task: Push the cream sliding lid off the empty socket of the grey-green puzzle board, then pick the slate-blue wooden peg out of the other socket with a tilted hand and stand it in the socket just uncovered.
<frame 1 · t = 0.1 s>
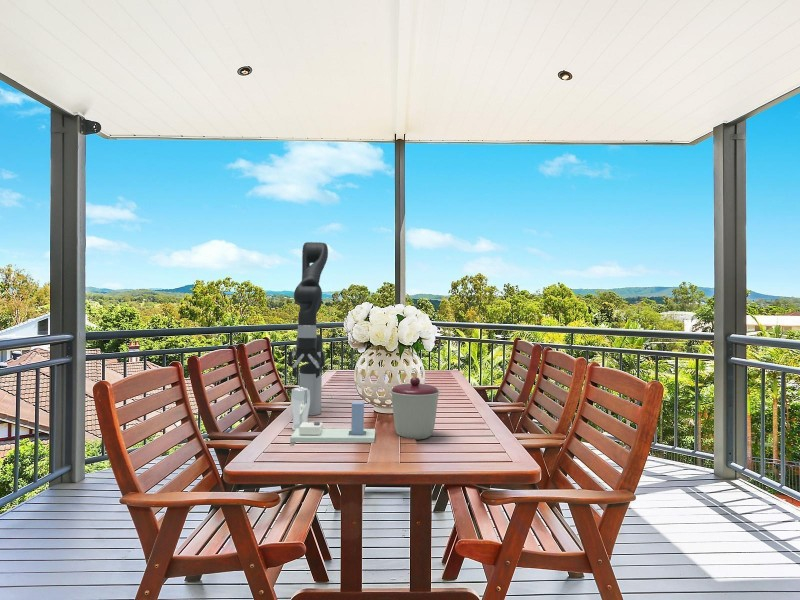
hand: (306, 377, 209), 17 cm above the table, tool pointing down, fingers open, 8 cm apart
canister: (414, 436, 189), on the table
peg: (357, 437, 182), point 1 cm above the table, touching board
beer glass: (300, 429, 196), on the table
board: (334, 440, 182), on the table
lid: (311, 427, 182), point 4 cm above the table, slide at 0.0 cm
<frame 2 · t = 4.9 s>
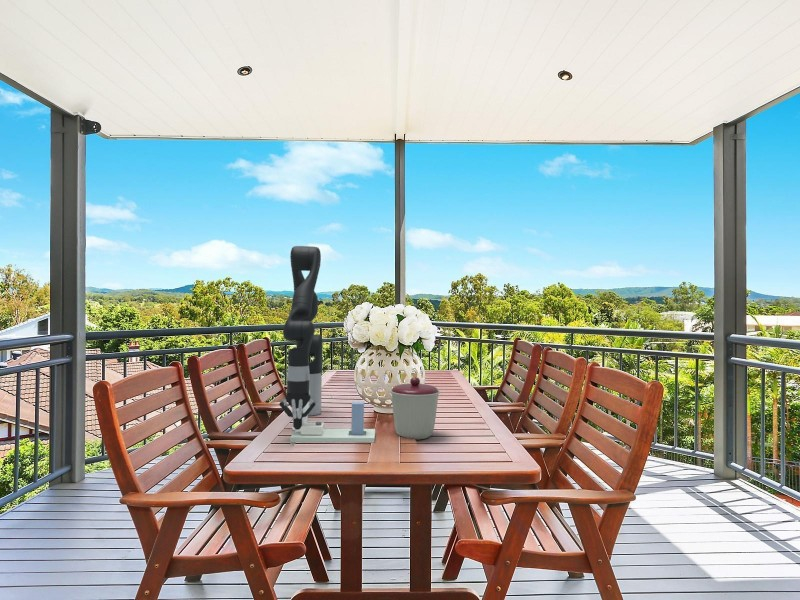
hand: (297, 428, 181), 4 cm above the table, tool pointing down, fingers closed
lid: (312, 427, 182), point 4 cm above the table, slide at 0.6 cm, touching gripper
everything else where it was.
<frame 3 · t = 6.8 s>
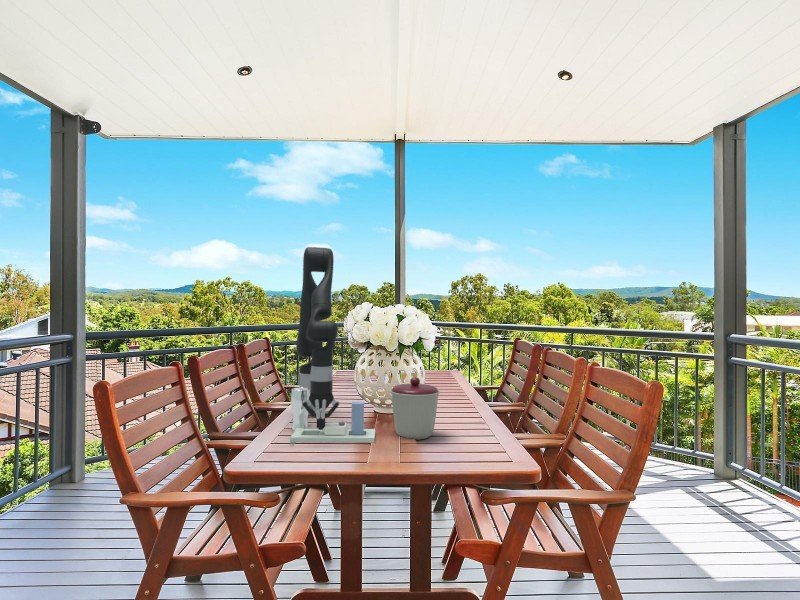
hand: (320, 429, 182), 4 cm above the table, tool pointing down, fingers closed
lid: (335, 427, 182), point 4 cm above the table, slide at 8.5 cm, touching gripper
everything else where it was.
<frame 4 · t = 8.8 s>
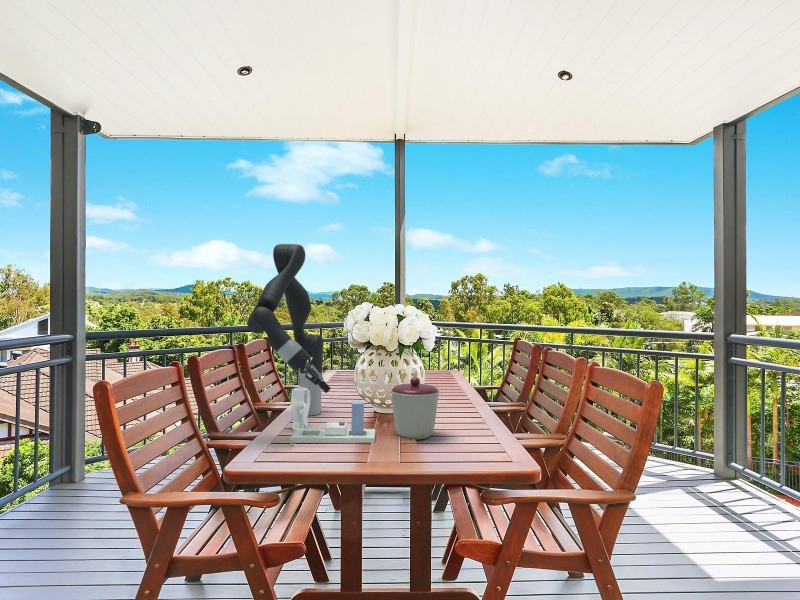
hand: (328, 390, 182), 17 cm above the table, tool tilted 45°, fingers closed
lid: (335, 427, 182), point 4 cm above the table, slide at 8.6 cm
everything else where it was.
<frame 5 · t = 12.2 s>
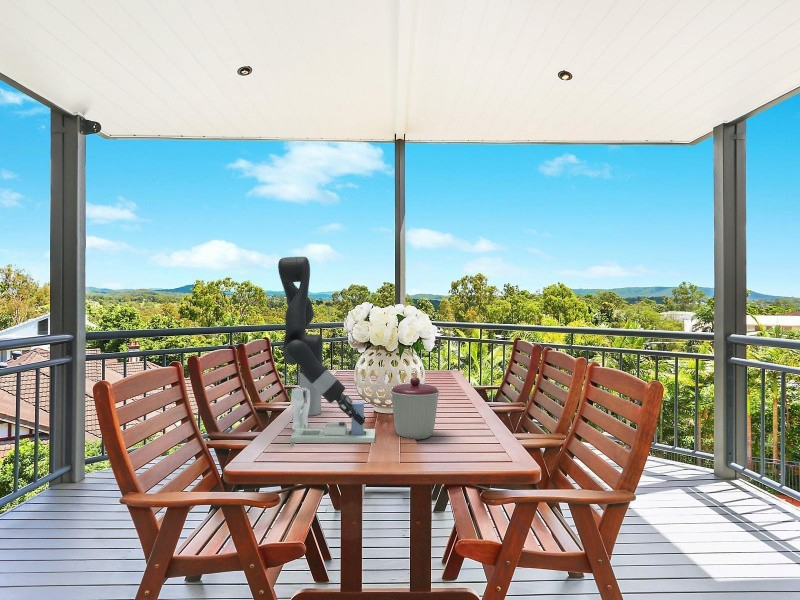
hand: (363, 421, 182), 7 cm above the table, tool tilted 45°, fingers closed on peg, 4 cm apart
peg: (357, 437, 182), point 1 cm above the table, touching board, gripper
everything else where it was.
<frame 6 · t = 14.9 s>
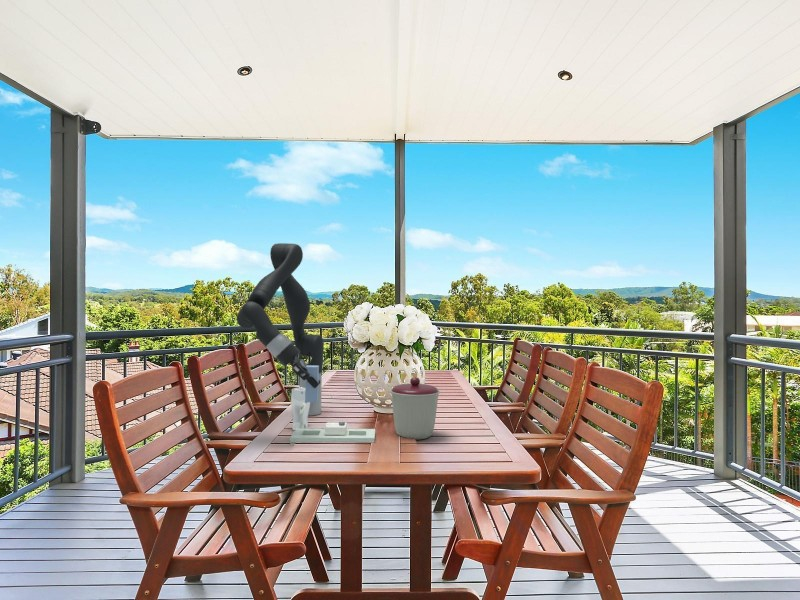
hand: (317, 385, 182), 19 cm above the table, tool tilted 45°, fingers closed on peg, 4 cm apart
peg: (311, 401, 182), point 13 cm above the table, touching gripper
everything else where it was.
when the fingers open (8 cm above the table, at t = 17.4 s): peg drops 1 cm, resting on board.
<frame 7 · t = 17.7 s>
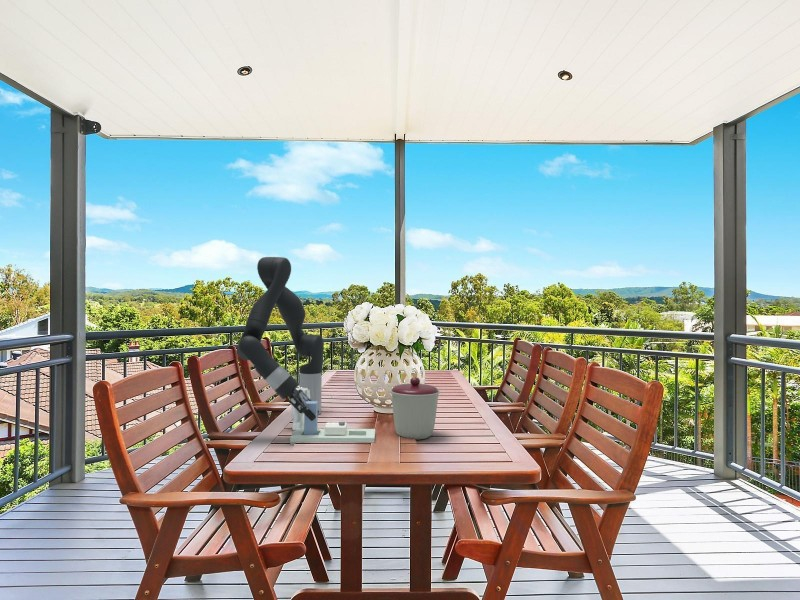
hand: (315, 416, 182), 8 cm above the table, tool tilted 45°, fingers open, 7 cm apart
peg: (310, 437, 182), point 1 cm above the table, touching board
everything else where it was.
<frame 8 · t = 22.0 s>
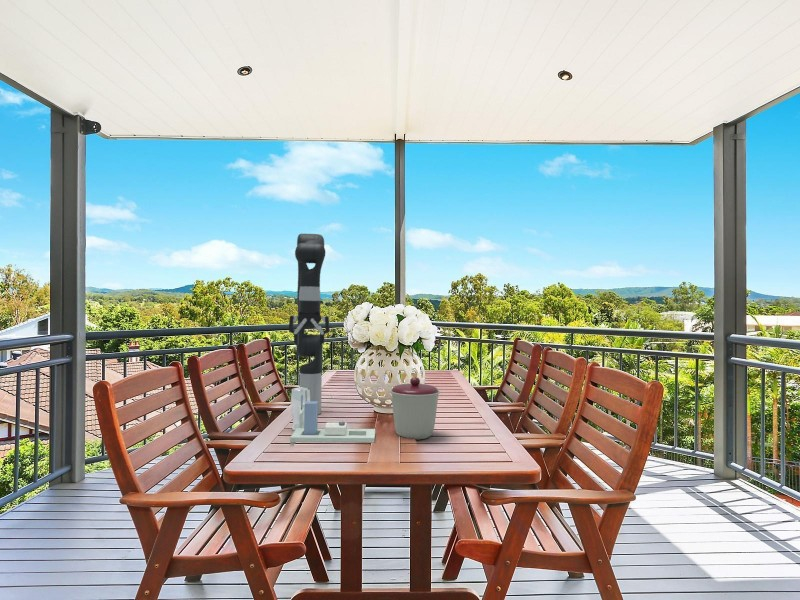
hand: (309, 344, 188), 32 cm above the table, tool pointing down, fingers open, 8 cm apart
nothing on the table moved.
at the end: lid slide at 8.6 cm; peg 0.0 cm from the target spot on the board, point 1.0 cm above the board's base; peg tilted 0° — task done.
